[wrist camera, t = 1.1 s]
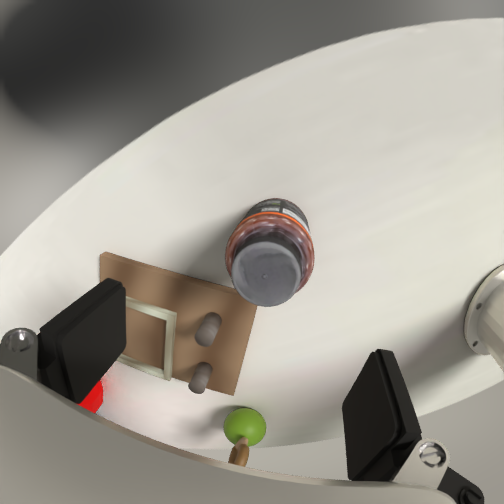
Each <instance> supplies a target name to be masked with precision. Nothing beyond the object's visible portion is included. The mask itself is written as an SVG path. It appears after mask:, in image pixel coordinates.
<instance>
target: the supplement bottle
mask: <svg viewBox="0 0 504 504" xmlns="http://www.w3.org/2000/svg"><path fill="white" fill-rule="evenodd" d="M225 260H226V266H227V270H228V273H229V275H230V277H231V279H232V282H233V285H234V287H235V289H236V290H237V292H238V293H239V294H240V295H241V296H242V297H243V298H244V299H245V300H247V301H248V302H250V303H252V304H254V305H258V306H264V307H271V306H276V305H279V304H282V303H284V302H286V301H287V300H289V299H290V298H291V297H292V296H293V295H294V294H295V293H296V292H298V291H299V290H300V289H301V288H302V287H303V286H304V285H305V284H306V283H307V281H308V280H309V278H310V276H311V273H312V270H313V267H314V249H313V243H312V239H311V235H310V230H309V226H308V222H307V219H306V217H305V215H304V214H303V212H302V211H301V210H300V208H299V207H297V206H296V205H295V204H293V203H292V202H290V201H288V200H284V199H278V198H273V199H267V200H264V201H262V202H259V203H258V204H256V205H255V206H254V207H253V208H252V209H251V210H250V211H249V212H248V213H247V215H246V216H245V217H244V218H243V220H242V221H241V222H240V223H239V225H238V226H237V227H236V229H235V230H234V232H233V233H232V235H231V236H230V238H229V241H228V243H227V247H226V253H225Z"/></svg>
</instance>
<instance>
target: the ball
mask: <svg viewBox="0 0 504 504" xmlns="http://www.w3.org/2000/svg"><path fill="white" fill-rule="evenodd" d="M102 403H103V388H102V384H101V381H100V380H99V382H98V383H97V384H96V385H95V386H94V388H93V389H92V390H91V391H90V393H89V394H88V395H87V396H86V398H85V399H84V400H83V401H82V403H80V404H78V405H80V406H81V407H83V408H85V409H87V410H89V411H91V412H93V413H96V411H97V410H98V408H99V407H100V406H101V404H102Z"/></svg>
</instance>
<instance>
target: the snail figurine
mask: <svg viewBox="0 0 504 504" xmlns="http://www.w3.org/2000/svg"><path fill="white" fill-rule="evenodd" d="M265 432H266V423H265V420H264V418H263V417H262V415H261V414H260V413H258V412H257V411H255V410H253V409H249V408H240V409H237V410H235V411H233V412H231V413H230V414H229V415H228V416H227V418H226V419H225V422H224V433H225V435H226V437H227V438H228V440H229V441H230V442H232V443H233V444H235V446H234V447H233V448H232V451H231V454H230V457H229V461H228V463H230V464H234V465H238V466H243V467H245V465H246V463H247V460H248V456H249V446H253V445H255V444H257V443H258V442H260V441H261V440H262V438H263V437H264V435H265Z"/></svg>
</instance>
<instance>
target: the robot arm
mask: <svg viewBox="0 0 504 504" xmlns="http://www.w3.org/2000/svg"><path fill="white" fill-rule="evenodd" d="M464 334H465V339H466V341H467V344H468V345H469V346H470V348H471V349H472V350H473V351H474V352H475V353H477V354H480V355H490V354H491V355H492V357H493V358H494V359H495V361H496V362H497V364H498V365H499V366H500V368H501V369H502V370H503V372H504V265H502V266H500V267H499V268H497V269H496V270H494V271H493V272H492V273H491V274H490V275H489V276H488V277H487V278H486V279H485V280H484V282H483V283H482V284H481V285H480V287H479V289H478V290H477V292H476V293H475V295H474V297H473V299H472V301H471V303H470V305H469V308H468V311H467V314H466V318H465V325H464ZM126 344H127V339H126V289H125V287H123V284H122V282H120V281H117V280H114V279H111V278H106V279H105V280H103V281H102V282H101V283H99V284H98V285H97V286H95V287H94V288H92V289H91V290H90V291H88V292H87V293H86V294H84V295H83V296H82V297H80V298H79V299H78V300H76V301H75V302H74V303H72V304H71V305H70V306H68V307H67V308H66V309H64V310H63V311H62V312H60V313H59V314H58V315H56V316H55V317H54V318H53V319H51V320H50V321H49V322H47V323H46V324H45V325H44V326H42V327H41V328H40V333H39V334H38V335H36V333H35V332H33V331H32V330H30V329H27V328H15V329H12V330H10V331H8V332H7V333H6V334H5V335H4V336H3V338H2V340H1V344H0V504H484V496H483V493H482V491H481V490H480V489H479V488H478V487H477V486H476V485H474V484H473V483H471V482H470V481H468V480H467V479H465V478H464V477H462V476H461V475H459V474H458V473H457V472H455V471H454V470H452V469H451V468H449V467H448V464H449V461H450V456H449V452H448V450H447V448H446V447H445V446H444V445H443V444H442V443H441V442H440V441H438V440H436V439H432V438H425V439H422V437H421V433H422V432H421V429H420V426H419V423H418V420H417V416H416V413H415V410H414V407H413V404H412V402H411V399H410V396H409V393H408V390H407V388H406V385H405V382H404V379H403V377H402V374H401V371H400V369H399V366H398V364H397V361H396V359H395V356H394V353H393V352H392V351H388V350H383V349H377V350H376V351H375V352H372V353H371V354H370V355H369V357H368V359H367V361H366V363H365V365H364V367H363V368H362V370H361V372H360V374H359V376H358V377H357V379H356V381H355V383H354V385H353V386H352V388H351V390H350V391H349V393H348V395H347V396H346V398H345V400H344V402H343V406H342V412H343V422H344V433H345V444H346V456H347V470H348V471H347V472H348V478H349V480H352V481H345V480H332V479H320V478H310V477H300V476H293V475H286V474H279V473H273V472H268V471H262V470H256V469H252V468H247V467H243V466H238V465H234V464H230V463H226V462H222V461H218V460H214V459H211V458H207V457H203V456H200V455H197V454H194V453H190V452H187V451H184V450H181V449H178V448H175V447H172V446H169V445H167V444H164V443H161V442H159V441H156V440H153V439H151V438H148V437H146V436H143V435H141V434H138V433H136V432H133V431H131V430H129V429H126V428H124V427H122V426H120V425H118V424H115V423H113V422H111V421H109V420H107V419H105V418H103V417H101V416H99V415H97V414H95V413H93V412H91V411H89V410H87V409H85V408H83V407H81V406H80V405H78V404H80V403H82V401H83V400H84V399H85V398H86V396H87V395H88V394H89V393H90V391H91V390H92V389H93V388H94V386H95V385H96V384H97V383H98V382H99V380H100V379H101V378H102V377H103V375H104V374H105V373H106V372H107V370H108V369H109V368H110V367H111V366H112V364H113V363H114V362H115V361H116V360H117V358H118V357H119V356H120V355H121V354H122V352H123V351H124V350H125V347H126Z"/></svg>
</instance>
